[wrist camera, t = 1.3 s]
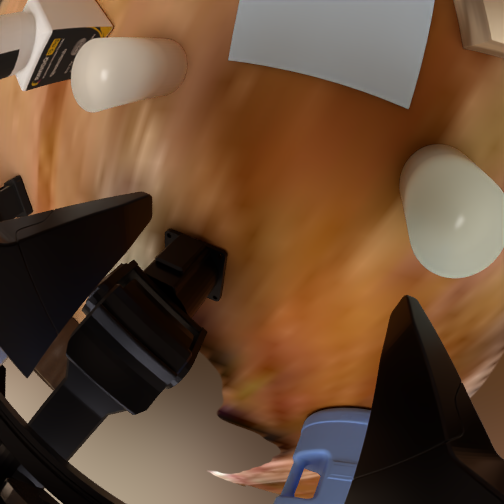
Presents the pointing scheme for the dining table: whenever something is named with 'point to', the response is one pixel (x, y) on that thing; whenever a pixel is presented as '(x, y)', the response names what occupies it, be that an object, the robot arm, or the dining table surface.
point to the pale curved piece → (451, 212)
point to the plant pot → (56, 357)
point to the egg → (126, 71)
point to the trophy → (14, 200)
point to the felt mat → (338, 41)
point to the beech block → (482, 25)
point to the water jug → (328, 454)
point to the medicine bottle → (48, 39)
